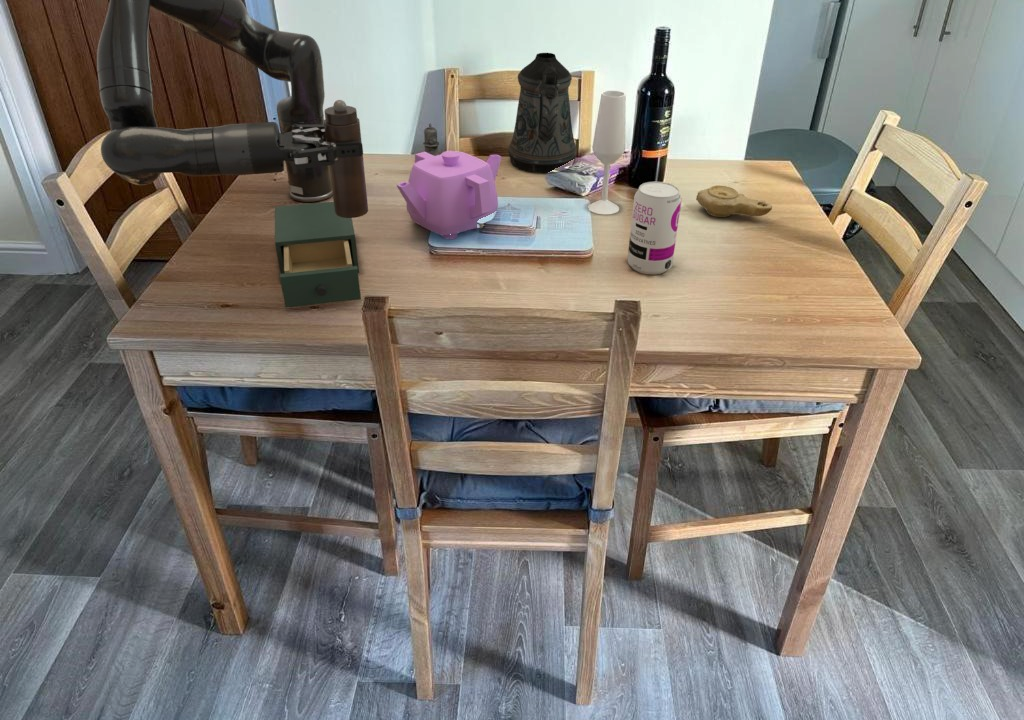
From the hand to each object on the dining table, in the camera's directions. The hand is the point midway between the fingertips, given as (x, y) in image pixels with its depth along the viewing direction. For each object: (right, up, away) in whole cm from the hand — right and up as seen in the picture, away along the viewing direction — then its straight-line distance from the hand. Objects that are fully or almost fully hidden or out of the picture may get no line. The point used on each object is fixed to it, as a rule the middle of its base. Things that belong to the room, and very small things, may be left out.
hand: (360, 141), depth 120 cm
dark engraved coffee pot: (+32, +13, +65) cm, 74 cm away
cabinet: (-12, -15, +23) cm, 30 cm away
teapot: (+12, -7, +36) cm, 38 cm away
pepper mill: (-3, -10, +6) cm, 12 cm away
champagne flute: (+43, -2, +44) cm, 62 cm away
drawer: (-9, -21, +13) cm, 26 cm away
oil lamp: (+70, -4, +42) cm, 82 cm away
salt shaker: (+5, +9, +58) cm, 59 cm away
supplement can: (+49, -17, +22) cm, 57 cm away
